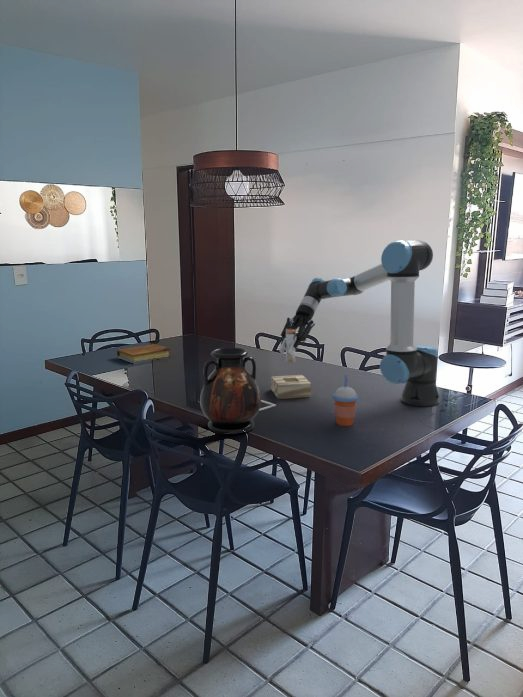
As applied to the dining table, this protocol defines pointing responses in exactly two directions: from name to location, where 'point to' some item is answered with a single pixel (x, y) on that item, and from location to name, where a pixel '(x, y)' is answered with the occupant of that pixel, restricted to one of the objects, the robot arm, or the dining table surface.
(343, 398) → the cup with straw
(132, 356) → the diary
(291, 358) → the peg
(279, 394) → the socket block
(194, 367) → the dining table surface
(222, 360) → the amphora vase
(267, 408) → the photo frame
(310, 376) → the dining table surface
